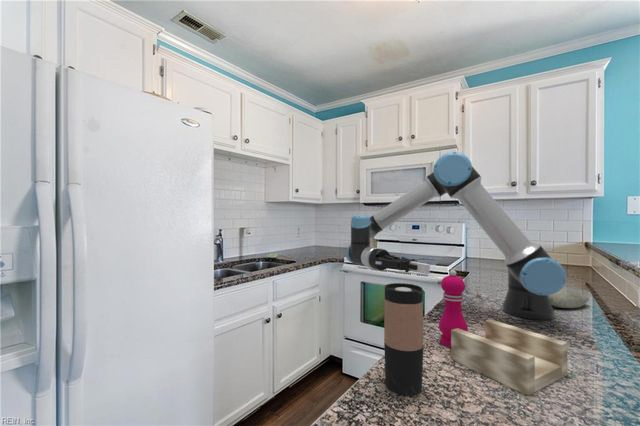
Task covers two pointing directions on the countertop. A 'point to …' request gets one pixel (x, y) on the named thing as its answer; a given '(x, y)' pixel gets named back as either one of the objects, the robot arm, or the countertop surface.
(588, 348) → the countertop surface
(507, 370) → the u rest
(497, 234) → the robot arm
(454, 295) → the pepper mill
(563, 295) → the rock
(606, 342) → the countertop surface
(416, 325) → the travel mug
